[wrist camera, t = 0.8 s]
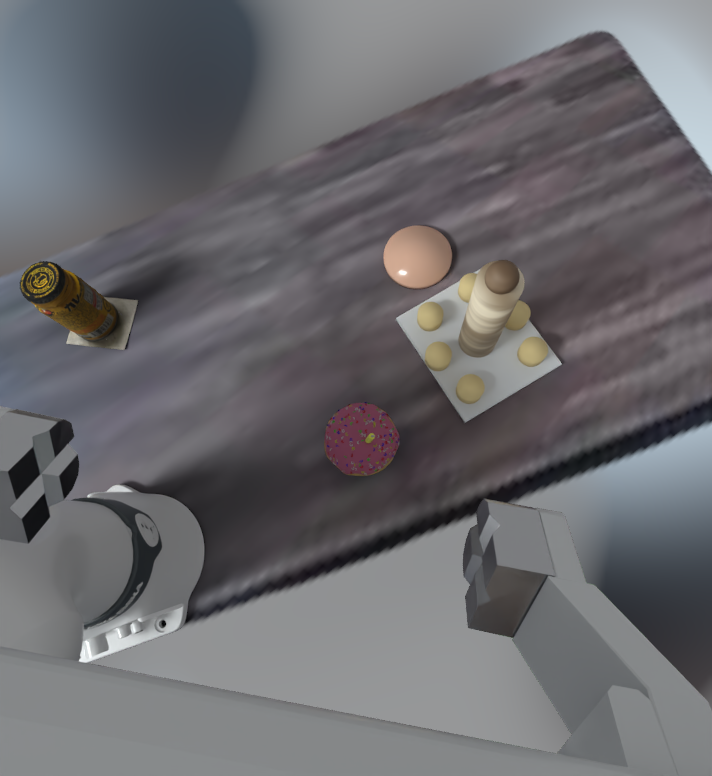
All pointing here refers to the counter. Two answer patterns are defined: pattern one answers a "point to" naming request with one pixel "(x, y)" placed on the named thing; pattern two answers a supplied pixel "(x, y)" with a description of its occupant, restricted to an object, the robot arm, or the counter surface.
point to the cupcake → (361, 439)
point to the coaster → (417, 257)
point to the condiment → (78, 306)
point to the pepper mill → (490, 307)
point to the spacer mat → (469, 374)
